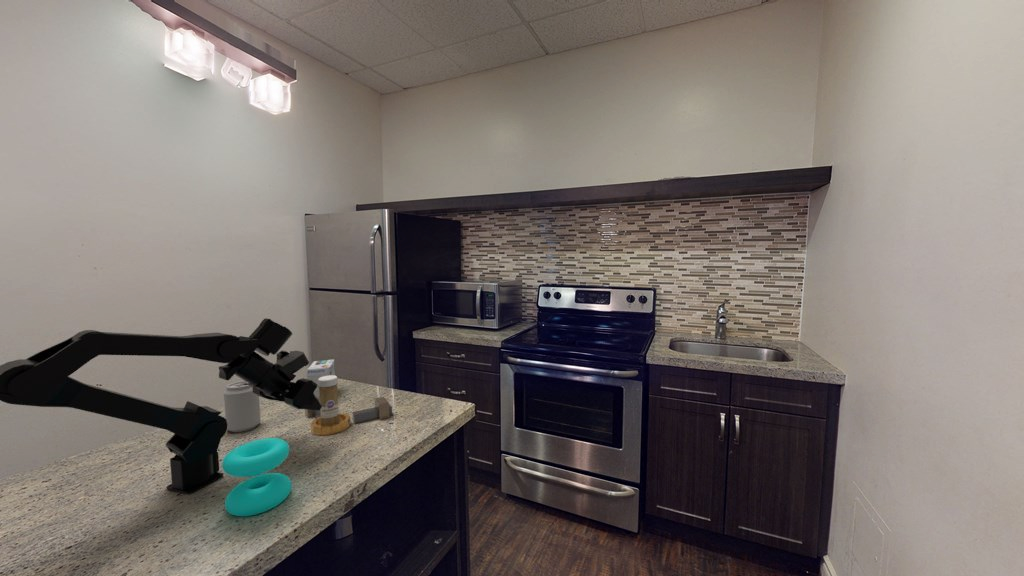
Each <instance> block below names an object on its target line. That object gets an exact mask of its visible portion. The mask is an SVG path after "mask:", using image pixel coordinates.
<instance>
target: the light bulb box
mask: <svg viewBox="0 0 1024 576" xmlns="http://www.w3.org/2000/svg"><path fill="white" fill-rule="evenodd" d="M335 370H336V369H335V359H326V360H323V359H322V360H315V361H312V362H311V364H310V365H309V367H308V368H307V369H306V379H308V380H312V381H313V382H315V383H316V384H317V388H316V389H315V391H314V395H315V397H319V396H320V395H319V386H318V379H319V378H320V377H323V376H329V375H334V376H336V373H335V372H336V371H335Z"/></svg>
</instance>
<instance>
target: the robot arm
mask: <svg viewBox="0 0 1024 576" xmlns="http://www.w3.org/2000/svg"><path fill="white" fill-rule="evenodd" d="M291 336H293V332H292V331H291V330H290V329H289V328H288V327H286V326H283V325H282V324H280V323H278V322H276V321H274V320H272V319H271V318H267V317H266V318H263V319H262V320H261V322H260V323H259V325H258V326H257V327H256V328H255V329H254V331H253V332H252V333H251V334H250V335H249V336H242V335H240V336H236V335H233V334H228V333H222V332H209V333H208V332H206V333H195V334H190V335H165V334H145V333H128V332H127V333H126V332H111V331H110V332H109V331H100V330H99V331H98V330H95V329H85V330H82V331H78V332H77V333H75V334H74V335H72V336H71V337H69V338H67V339H65V340H63V341H61V342H59V343H56V344H54V345H52V346H50V347H47V348H45V349H43V350H40V351H39V352H36V353H35V354H33V355H31V356H28V357H27V358H24V359H22V358H21V359H19V358H18V359H16V360H12V361H7V362H5V363H2V364H0V402H3V403H6V404H9V405H17V406H18V405H19V406H26V407H27V406H29V407H41V408H69V409H75V410H80V411H85V412H88V413H92V414H96V415H100V416H101V415H102V416H106V417H110V418H114V419H119V420H123V421H127V422H132V423H137V424H141V425H144V426H149V427H153V428H157V429H162V430H166V431H168V432H170V433H172V434H173V435H172V436H171V437H170V438H169V439H168V440H167V441H166V443H165V447H166V448H167V449H168V451H169V452H170V453H172V454H174V456H173V457H171V458H169V463H170V465H169V466H170V477H171V483H170V484H168V485H167V486H166V490H168V491H173V492H177V493H182V494H186V495H190V494H192V493H194V492H196V491H198V490H200V489H202V488H204V487H206V486H208V485H209V484H211V483H213V482H215V481H217V480H218V479H221V478H223V477H224V473H223V472H220V460H219V451H218V449H219V446H220V443H221V439H222V438H223V437H224V436H225V435H226V432H227V431H228V430H227V425H228V424H227V420H226V418H225V416H224V417H223V416H221V414H222V412H221V411H220V410H217V409H214V408H212V407H210V406H208V405H202V406H201V405H199V404H196V403H193V402H191V401H189V400H187V401H186V402H185V405H184V407H175V406H173V407H172V406H168V405H165V404H162V403H158V402H154V401H150V400H147V399H142V398H139V397H136V396H132V395H128V394H125V393H120V392H117V391H113V390H110V389H107V388H102V387H99V386H95V385H93V384H89V383H88V384H87V383H85V382H81V381H79V380H77V379H75V378H73V377H71V375H72V374H74V373H75V372H76V371H78V370H79V369H81V368H82V367H83V366H85V365H86V364H88V362H91V361H92V360H93V359H95V358H97V357H99V356H141V357H142V356H143V357H144V356H146V357H148V356H149V357H151V356H153V357H185V358H192V359H197V360H202V361H207V362H213V363H220V364H225V365H220V366H218V370H219V372H218V378H219V379H222V380H225V381H230V380H231V379H232V378H233V377H234V376H236V377H238V378H239V379H241V380H242V381H246V382H248V385H250V386H252V388H253V393H254V394H256V395H258V396H259V398H263V399H265V400H271V401H276V402H283V403H284V404H286V405H288V406H289V407H290V408H293V409H297V410H305V409H308V410H320V409H321V408H322V405H321V404H320V403H319V401H318V400H317V398H316V397H315V395H314V391H315V389H316V388H317V384H316V383H315V382H313V381H312V380H308V379H307V378H304V377H303V378H298V379H297V380H296V382H295V381H294V379H295V378H296V377H297V375H296V373H297V372H298V371H300V370H301V369H302V368H304V367H307V366H308V365H309V364H310V361H309V359H308V357H307V356H306V354H305V353H304V351H299V350H290V351H286V350H281V348H283V346H284V345H285V344H286V343H287V341H288V340H289V339H290V338H291ZM257 352H258V353H257ZM260 354H261V355H260ZM270 354H271V355H273V356H274V355H276V360H275V361H276V362H275V363H273V362H270V361H269V360H268V359H266V358H264V357H263V356H265V357H269V356H270ZM262 355H263V356H262Z"/></svg>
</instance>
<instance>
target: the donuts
mask: <svg viewBox="0 0 1024 576" xmlns="http://www.w3.org/2000/svg"><path fill="white" fill-rule="evenodd" d="M289 453H290V445H289V444H288V442H287V441H286V440H284V439H282V438H277V437H276V438H275V437H268V438H267V437H266V438H261V439H260V438H259V439H256V440H253V441H252V440H251V441H248V442H245V443H242V444H239V446H236V447H234V448H233V449H231V450H230V451H229V452H228V453H227V454H226V455H225V456H224V457H223V460H222V463H221V467H222V470H223V472H224V473H225V474H227V475H229V476H231V477H235V478H247V477H250V478H247V479H245V480H244V481H242V482H240V483H239V484H237V485H236V486H234V487H233V488H232V489H231V491H229V493H228V494H227V496H226V498H225V502H224V507H225V510H226V512H228V513H229V514H230V515H233V516H236V517H250V516H255V515H258V514H262V513H264V512H265V513H266V512H267V511H269V510H271V509H274V508H275V507H277V506H278V505H280V504H281V503H282V502H284V500H286V499H287V498H288V496H289V494H291V491H292V488H293V487H292V481H291V479H290V478H289V477H288V475H285V474H284V473H280V472H279V473H278V472H270V471H272V470H274V469H275V468H277V467H278V466H279V465H281V464H282V463H283V462H284V461H285V460H286V459H287V457H288V456H289ZM267 472H268V473H267Z"/></svg>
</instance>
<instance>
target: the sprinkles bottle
mask: <svg viewBox="0 0 1024 576" xmlns="http://www.w3.org/2000/svg"><path fill="white" fill-rule="evenodd" d="M338 378H339V377H338V376H337V375H335V376H334V375H329V376H323V377H320V378H319V379H318V386H319V395H320V397H319V403H320V404H321V405H322V408H321V409H320V417H321V426H327V425H333V424H337V423H340V422H339V413H340V412H339V410H340V409H339V394H338V384H339V383H338V382H339V381H338Z"/></svg>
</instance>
